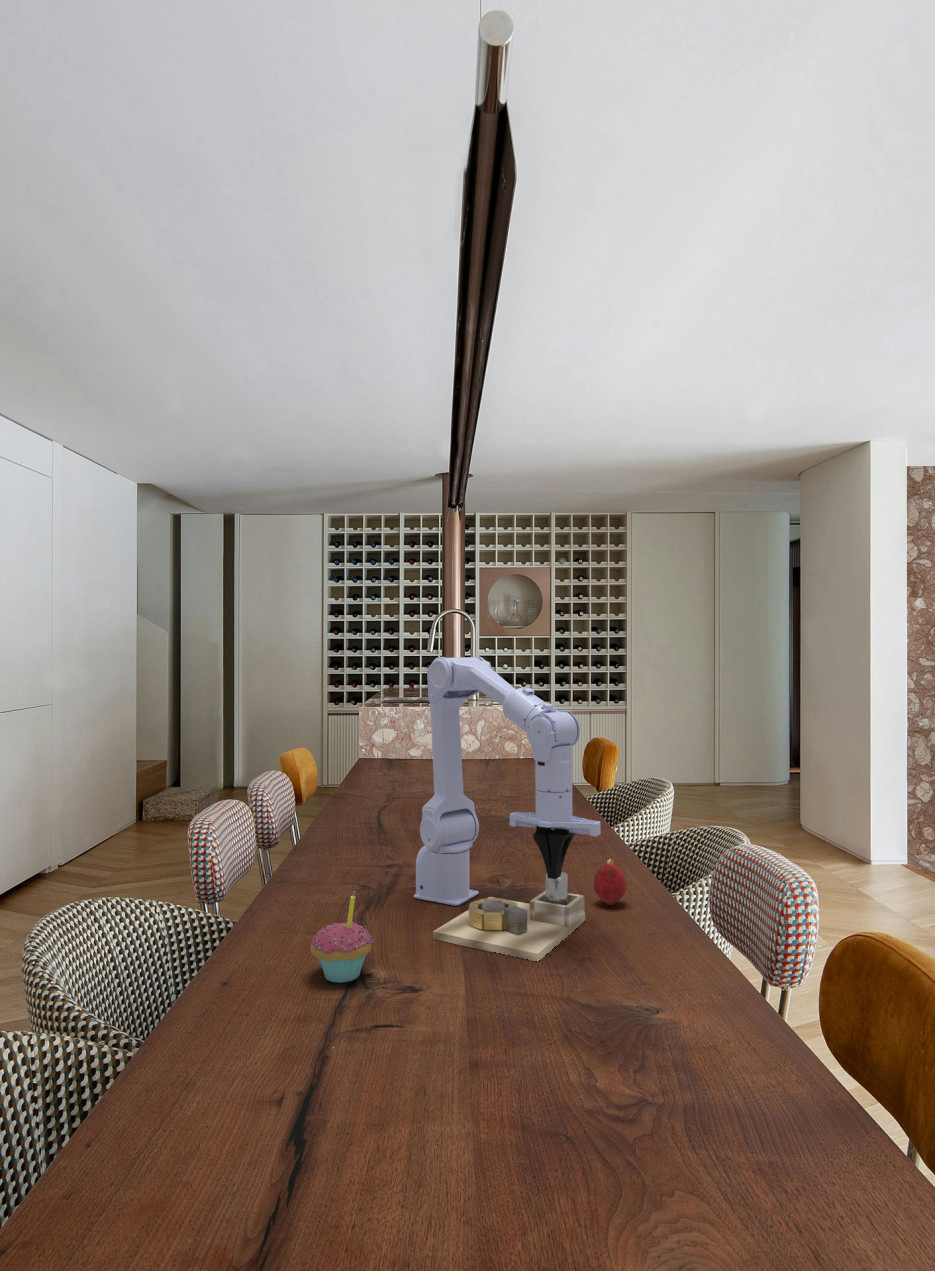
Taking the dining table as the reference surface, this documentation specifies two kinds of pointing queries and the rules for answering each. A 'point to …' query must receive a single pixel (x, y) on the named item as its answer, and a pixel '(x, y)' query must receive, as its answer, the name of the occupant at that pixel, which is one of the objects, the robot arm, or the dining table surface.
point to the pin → (557, 889)
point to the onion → (609, 883)
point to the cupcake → (342, 948)
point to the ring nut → (498, 917)
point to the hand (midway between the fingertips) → (554, 877)
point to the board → (540, 938)
